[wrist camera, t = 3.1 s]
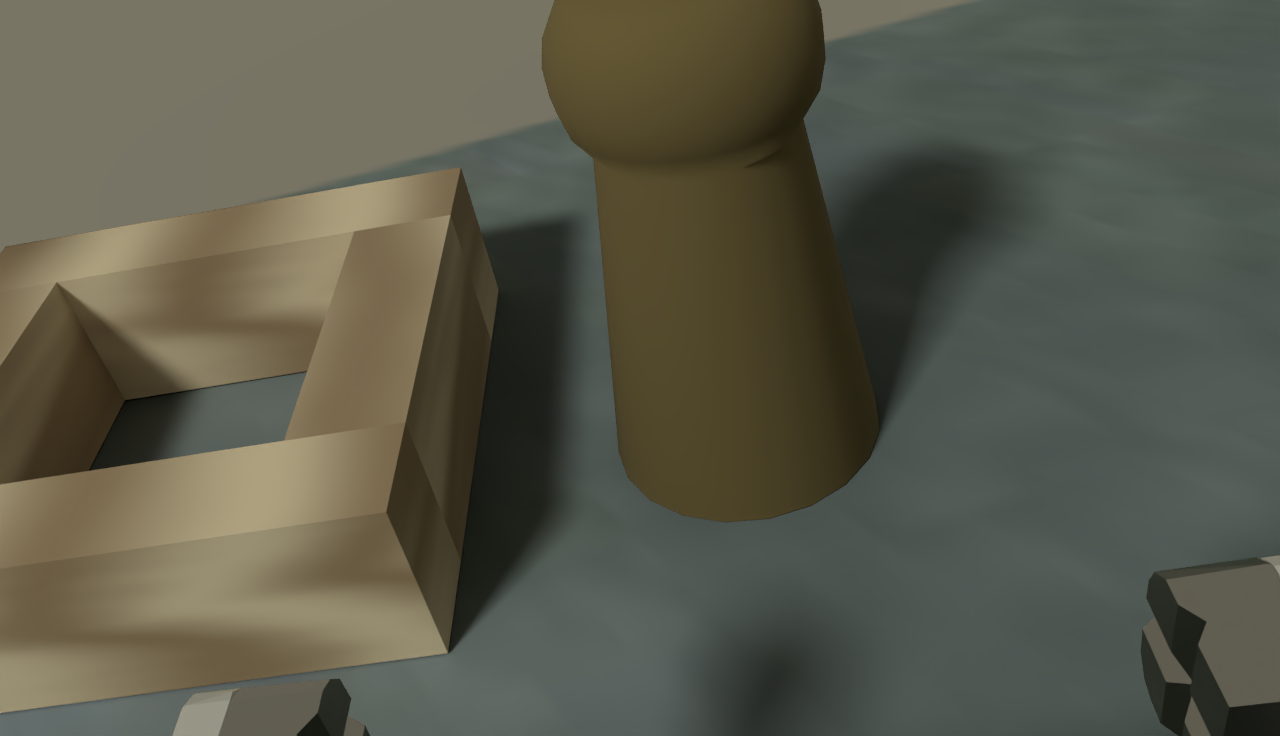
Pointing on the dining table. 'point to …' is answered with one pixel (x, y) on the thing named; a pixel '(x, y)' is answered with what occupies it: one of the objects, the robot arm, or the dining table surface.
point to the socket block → (248, 476)
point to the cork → (715, 250)
